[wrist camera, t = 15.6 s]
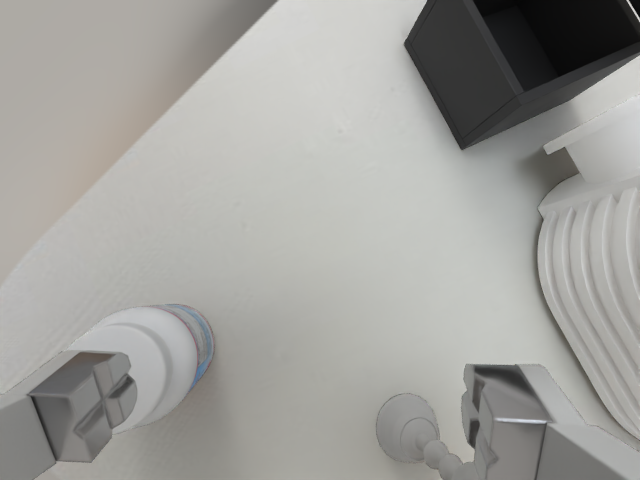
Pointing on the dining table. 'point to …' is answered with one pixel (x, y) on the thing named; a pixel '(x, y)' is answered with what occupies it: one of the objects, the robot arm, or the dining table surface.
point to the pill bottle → (155, 354)
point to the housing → (598, 255)
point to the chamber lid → (636, 6)
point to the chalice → (418, 437)
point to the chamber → (516, 57)
